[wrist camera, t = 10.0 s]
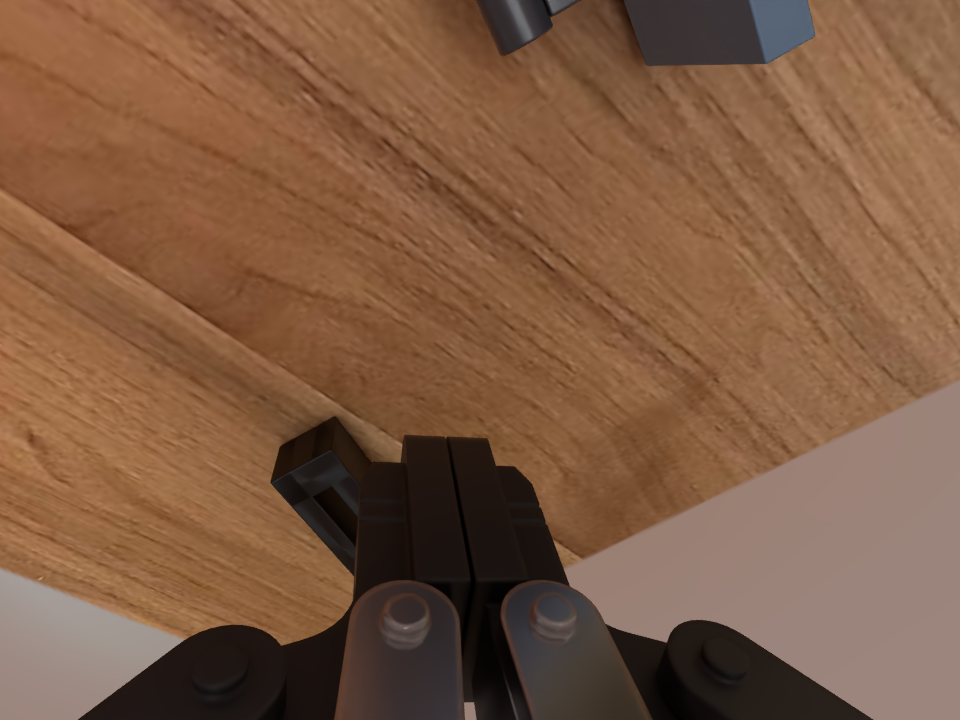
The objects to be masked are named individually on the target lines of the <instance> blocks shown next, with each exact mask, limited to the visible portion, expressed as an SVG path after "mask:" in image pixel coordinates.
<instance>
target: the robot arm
mask: <svg viewBox="0 0 960 720" xmlns="http://www.w3.org/2000/svg"><path fill="white" fill-rule="evenodd" d="M464 702H474V705H475V711H476V718H477V720H873V719H871V718H870V717H868V716H867V715H865V714H864V713H862V712H861V711H859V710H858V709H856V708H855V707H853V706H851V705H850V704H848V703H847V702H845V701H844V700H842V699H841V698H839V697H838V696H836V695H835V694H833V693H832V692H830V691H828V690H827V689H825V688H824V687H822V686H821V685H819V684H818V683H816V682H815V681H813V680H811V679H810V678H808V677H807V676H805V675H804V674H802V673H801V672H799V671H798V670H796V669H795V668H793V667H791V666H790V665H789V664H787V663H785V662H784V661H782V660H781V659H779V658H778V657H776V656H775V655H773V654H772V653H770V652H768V651H767V650H765V649H764V648H762V647H761V646H759V645H758V644H756V643H755V642H753V641H752V640H750V639H749V638H747V637H746V636H744V635H742V634H741V633H739V632H737V631H736V630H734V629H731V628H729V627H727V626H724V625H722V624H719V623H716V622H711V621H705V620H691V621H687V622H684V623H682V624H679V625H678V626H677V627H675V628H674V629H673V631H672V632H671V634H670V636H669V639H668V641H667V643H665V642H662V641H658V640H654V639H650V638H646V637H643V636H638V635H635V634H631V633H627V632H624V631H621V630H618V629H616V628H613V627H611V626H609V625H607V624H605V623H604V620H603V619H602V617H601V615H600V613H599V611H598V610H597V608H596V607H595V606H594V604H593V603H592V602H591V601H590V600H589V599H588V598H587V597H586V596H584V595H583V594H582V593H580V592H579V591H577V590H575V589H573V588H572V587H570V585H569V583H568V580H567V577H566V575H565V572H564V569H563V566H562V564H561V561H560V558H559V556H558V553H557V550H556V547H555V545H554V542H553V539H552V537H551V534H550V531H549V529H548V526H547V525H546V524H545V518H544V515H543V512H542V510H541V508H539V502H538V499H537V496H536V493H535V491H534V488H533V485H532V483H531V482H530V481H529V480H528V479H527V478H526V477H525V476H524V475H523V474H522V473H521V472H520V471H519V470H518V469H517V468H516V467H514V466H496V465H495V461H494V458H493V455H492V451H491V448H490V445H489V441H488V439H487V438H468V437H447V438H446V439H445V437H441V436H418V435H404V439H403V446H402V455H401V463H393V462H373V464H372V465H371V466H370V468H369V469H368V470H367V472H366V473H365V474H364V475H363V477H362V478H361V482H360V496H359V509H358V523H357V537H356V551H355V570H354V591H353V601H352V604H351V606H350V607H349V609H348V611H347V612H346V613H345V614H344V616H343V617H342V618H341V619H340V620H339V621H338V622H336V623H335V624H334V625H333V626H331V627H330V628H328V629H327V630H325V631H323V632H321V633H319V634H317V635H315V636H312V637H309V638H306V639H303V640H300V641H297V642H293V643H290V644H286V645H283V646H281V645H280V644H279V643H278V642H277V640H276V639H275V638H273V637H272V636H271V635H270V634H268V633H266V632H264V631H263V630H260V629H257V628H254V627H250V626H244V625H226V626H219V627H215V628H210V629H208V630H205V631H202V632H199V633H197V634H195V635H193V636H191V637H189V638H187V639H186V640H184V641H183V642H181V643H180V644H179V645H177V646H176V647H174V648H173V649H172V650H170V651H169V652H168V653H166V654H165V655H164V656H162V657H161V658H160V659H158V660H157V661H156V662H154V663H153V664H152V665H150V666H149V667H148V668H146V669H145V670H144V671H142V672H141V673H140V674H138V675H137V676H136V677H134V678H133V679H132V680H130V681H129V682H128V683H126V684H125V685H124V686H122V687H121V688H120V689H118V690H117V691H116V692H114V693H113V694H112V695H110V696H109V697H108V698H106V699H105V700H104V701H102V702H101V703H100V704H98V705H97V706H96V707H94V708H93V709H92V710H90V711H89V712H88V713H86V714H85V715H83V716H82V717H81V718H80V719H78V720H465V715H464Z"/></svg>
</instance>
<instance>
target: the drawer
mask: <svg viewBox="0 0 960 720" xmlns="http://www.w3.org/2000/svg"><path fill="white" fill-rule="evenodd" d="M475 1H476V3H477V5H478V7H479V10H480V12H481V14H482V16H483V18H484V21H485V23H486V25H487V27H488V29H489V31H490V34H491V36H492V38H493V40H494V42H495V45H496V47H497V49H498V51H499V53H500V55H501V56H505V55H508V54H510V53H512V52H514V51H516V50H518V49H520V48H521V47H523V46H525V45H527V44H529V43H530V42H532V41H534V40H535V39H537V38H539V37H540V36H542V35H543V34H545V33H546V32H548V31H549V30H550V29H551V28H552V27H553V24H552V22H551V19H550V17H553V16H555V15H557V14H559V13H560V12H562V11H564V10H565V9H567V8H569V7H571V6H572V5H574V4H576V3H577V2H579V1H581V0H475ZM624 3H625V6H626V9H627V11H628V14H629V17H630V20H631V23H632V26H633V28H634V31H635V34H636V37H637V40H638V43H639V45H640V48H641V51H642V54H643V57H644V60H645V62H646V65H647V66H658V65H724V64H768V63H769V62H771V61H773V60H775V59H776V58H778V57H780V56H782V55H783V54H785V53H787V52H789V51H790V50H792V49H794V48H796V47H797V46H799V45H801V44H803V43H804V42H806V41H808V40H810V39H812V38H813V37H814V36H815V31H814V27H813V22H812V18H811V13H810V9H809V5H808V0H624Z"/></svg>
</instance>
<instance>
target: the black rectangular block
mask: <svg viewBox="0 0 960 720" xmlns="http://www.w3.org/2000/svg"><path fill="white" fill-rule="evenodd" d="M371 465H372V463H371V462H370V461H369V459H368V458H367V457H366V455H365V454H364V453H363V452H362V450H361V449H360V448H359V446H358V445H357V444H356V443H355V441H354V440H353V439H352V437H351V436H350V435H349V434H348V432H347V431H346V430H345V428H344V427H343V426H342V425H341V423H340V422H339V421H338V419H337V418H336V417H333V418H331V419H330V420H328V421H326V422H324V423H322V424H321V425H319V426H317V427H315V428H313V429H312V430H310V431H308V432H306V433H304V434H303V435H301V436H299V437H297V438H295V439H293V440H291V441H290V442H288V443H286V444H284V445H282V446H281V447H280V448H279V452H278V456H277V459H276V463H275V467H274V471H273V474H272V478H271V484H272V485H273V486H274V487H275V489H276V490H277V491H278V492H279V493H280V494H281V495H282V496H283V498H284V499H285V500H286V501H287V502H288V503H289V504H290V505H291V506H292V508H293V509H294V510H295V511H296V512H297V513H298V514H299V515H300V516H301V518H302V519H303V520H304V521H305V522H306V523H307V524H308V525H309V527H310V528H311V529H312V530H313V531H314V532H315V533H316V534H317V535H318V537H319V538H320V539H321V540H322V541H323V542H324V543H325V544H326V546H327V547H328V548H329V549H330V550H331V551H332V552H333V553H334V554H335V556H336V557H337V558H338V559H339V560H340V561H341V562H342V563H343V565H344V566H345V567H346V568H347V569H348V570H349V571H350V572H351V573H352V575H353V576H354V570H355V551H356V537H357V523H358V509H359V496H360V482H361V478H362V477H363V475H364V474H365V473H366V472H367V470H368V469H369V468H370V466H371Z"/></svg>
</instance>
